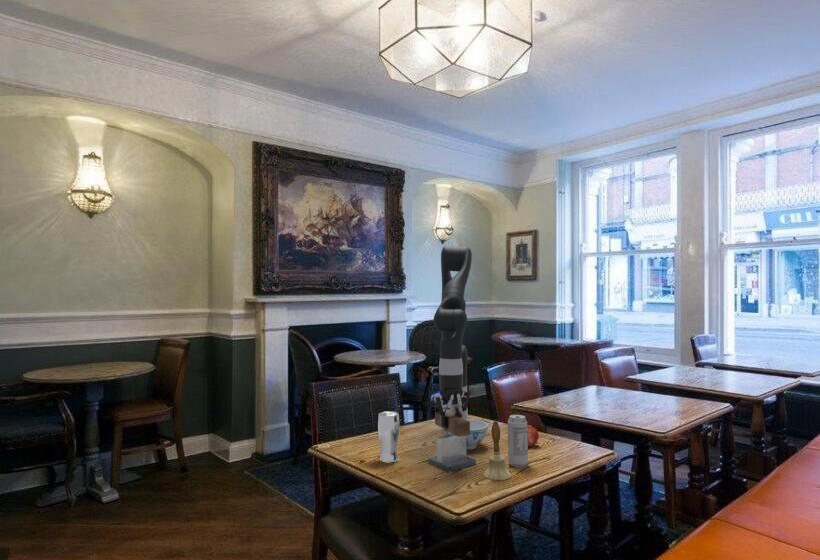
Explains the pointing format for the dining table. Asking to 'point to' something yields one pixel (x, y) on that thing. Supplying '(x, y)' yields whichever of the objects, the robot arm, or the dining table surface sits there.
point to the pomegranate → (532, 435)
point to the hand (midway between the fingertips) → (451, 426)
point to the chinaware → (475, 433)
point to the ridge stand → (451, 453)
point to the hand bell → (496, 459)
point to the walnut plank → (454, 424)
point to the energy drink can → (517, 441)
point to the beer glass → (388, 435)
